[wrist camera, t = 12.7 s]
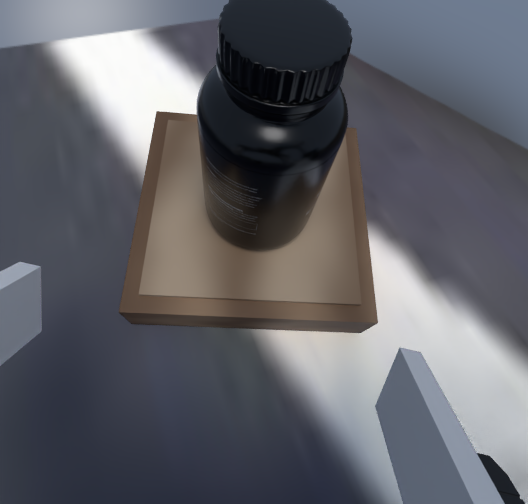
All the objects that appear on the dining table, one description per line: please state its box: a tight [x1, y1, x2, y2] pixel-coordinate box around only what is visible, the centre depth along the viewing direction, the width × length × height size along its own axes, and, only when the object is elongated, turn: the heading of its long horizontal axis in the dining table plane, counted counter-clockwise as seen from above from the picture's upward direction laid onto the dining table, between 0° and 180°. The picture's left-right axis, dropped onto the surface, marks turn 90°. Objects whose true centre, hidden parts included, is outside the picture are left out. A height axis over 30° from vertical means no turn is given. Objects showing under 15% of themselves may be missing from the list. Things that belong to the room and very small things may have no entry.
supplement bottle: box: [197, 0, 352, 250], centre depth 18 cm, size 7×7×12 cm
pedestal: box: [119, 111, 378, 333], centre depth 25 cm, size 15×15×3 cm
